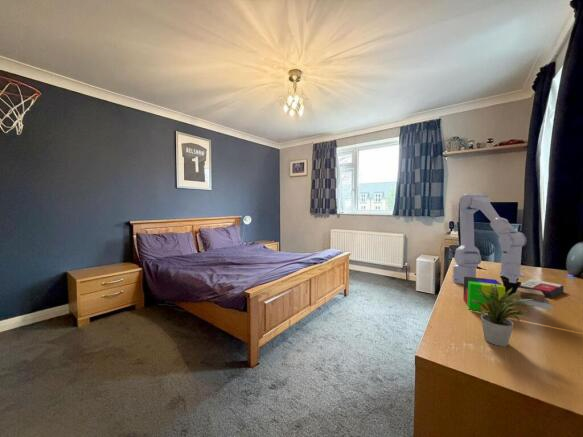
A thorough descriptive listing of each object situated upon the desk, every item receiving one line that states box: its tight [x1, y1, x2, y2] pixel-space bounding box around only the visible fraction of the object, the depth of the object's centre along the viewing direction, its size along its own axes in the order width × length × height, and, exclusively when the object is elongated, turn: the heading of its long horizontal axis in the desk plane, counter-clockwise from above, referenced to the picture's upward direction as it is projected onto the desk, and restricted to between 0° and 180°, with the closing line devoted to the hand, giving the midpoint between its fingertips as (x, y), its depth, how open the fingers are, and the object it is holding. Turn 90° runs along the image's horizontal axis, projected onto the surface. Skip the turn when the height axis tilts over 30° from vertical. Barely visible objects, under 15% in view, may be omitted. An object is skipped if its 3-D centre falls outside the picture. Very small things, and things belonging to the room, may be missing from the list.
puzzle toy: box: [462, 276, 505, 313], centre depth 91 cm, size 10×10×10 cm
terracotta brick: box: [512, 290, 521, 302], centre depth 97 cm, size 6×4×4 cm, turn 54°
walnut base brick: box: [517, 288, 546, 301], centre depth 100 cm, size 8×6×2 cm
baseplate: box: [510, 297, 555, 311], centre depth 100 cm, size 20×16×1 cm
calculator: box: [518, 278, 564, 299], centre depth 107 cm, size 11×4×15 cm
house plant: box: [472, 284, 534, 347], centre depth 67 cm, size 14×14×16 cm
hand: (509, 295), depth 97 cm, fingers closed on terracotta brick, 4 cm apart
